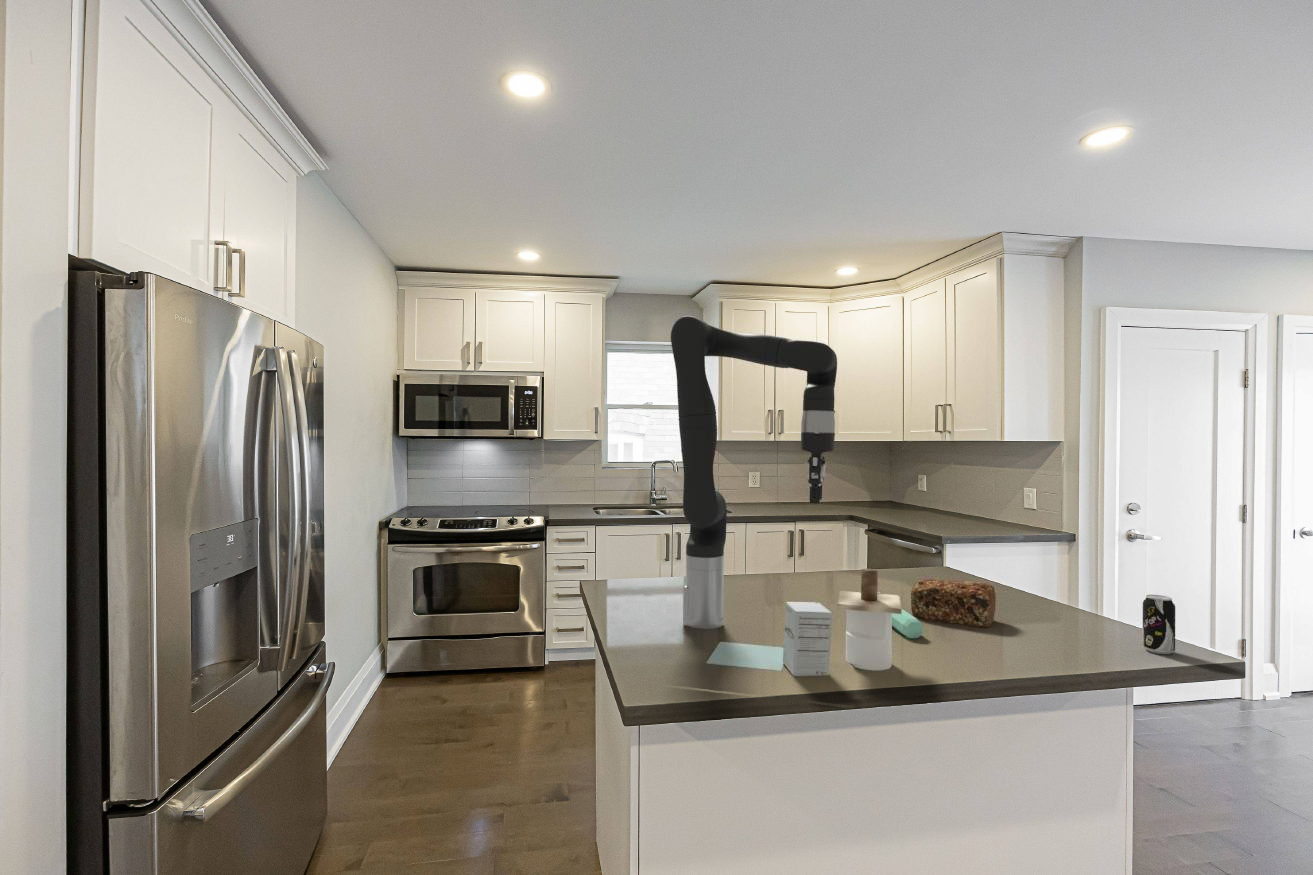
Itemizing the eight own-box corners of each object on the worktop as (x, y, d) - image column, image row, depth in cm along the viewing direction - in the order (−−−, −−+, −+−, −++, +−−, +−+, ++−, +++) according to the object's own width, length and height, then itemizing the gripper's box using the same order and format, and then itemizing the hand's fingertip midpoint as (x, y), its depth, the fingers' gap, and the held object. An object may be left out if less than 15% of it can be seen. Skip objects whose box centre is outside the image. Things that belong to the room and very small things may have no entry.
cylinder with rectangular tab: (837, 662, 138) (838, 604, 138) (858, 652, 145) (858, 596, 145) (879, 673, 132) (880, 612, 132) (899, 662, 138) (899, 604, 138)
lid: (837, 608, 134) (837, 573, 134) (840, 595, 146) (840, 563, 146) (901, 613, 131) (901, 577, 131) (899, 599, 142) (899, 566, 142)
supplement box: (781, 663, 136) (784, 600, 136) (817, 663, 137) (820, 601, 137) (791, 676, 129) (795, 610, 129) (829, 677, 129) (833, 611, 129)
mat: (706, 664, 136) (706, 662, 136) (720, 643, 150) (720, 641, 150) (781, 672, 132) (781, 670, 132) (788, 649, 146) (788, 647, 146)
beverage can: (1136, 649, 149) (1136, 594, 149) (1152, 646, 151) (1153, 592, 151) (1164, 657, 143) (1165, 600, 143) (1181, 653, 146) (1181, 598, 146)
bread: (996, 621, 172) (996, 581, 172) (988, 630, 163) (988, 589, 163) (920, 609, 183) (921, 572, 183) (909, 617, 174) (909, 578, 174)
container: (922, 613, 154) (881, 587, 179) (899, 623, 154) (861, 596, 179) (932, 637, 155) (890, 608, 180) (908, 647, 154) (869, 616, 179)
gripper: (803, 431, 163) (801, 498, 163) (798, 430, 149) (796, 503, 149) (835, 431, 161) (833, 499, 161) (833, 431, 147) (831, 505, 147)
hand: (815, 501), depth 155 cm, fingers open, 8 cm apart
